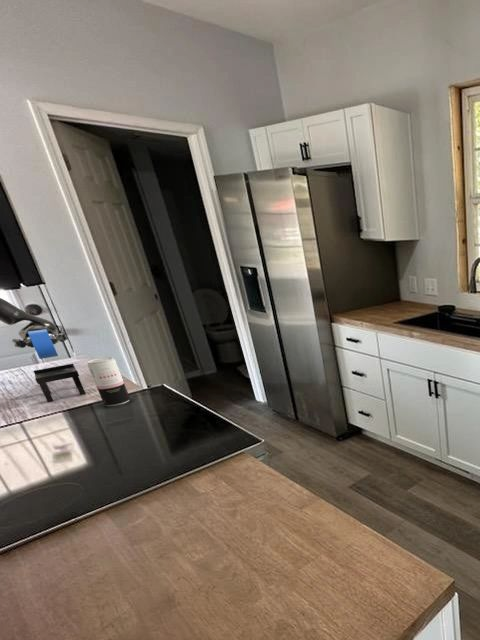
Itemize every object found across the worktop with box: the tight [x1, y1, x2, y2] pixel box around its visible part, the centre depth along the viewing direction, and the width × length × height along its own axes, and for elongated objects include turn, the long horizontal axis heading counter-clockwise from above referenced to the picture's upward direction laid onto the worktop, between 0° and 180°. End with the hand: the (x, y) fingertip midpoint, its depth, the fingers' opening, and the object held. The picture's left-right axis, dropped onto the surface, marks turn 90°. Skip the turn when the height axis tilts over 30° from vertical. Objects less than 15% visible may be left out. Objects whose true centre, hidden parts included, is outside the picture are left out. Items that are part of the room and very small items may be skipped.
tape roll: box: [28, 329, 59, 360], centre depth 148 cm, size 5×10×10 cm, turn 50°
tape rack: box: [33, 363, 87, 403], centre depth 145 cm, size 14×10×9 cm
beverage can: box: [87, 356, 131, 407], centre depth 135 cm, size 7×7×15 cm
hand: (42, 342), depth 145 cm, fingers closed on tape roll, 4 cm apart
